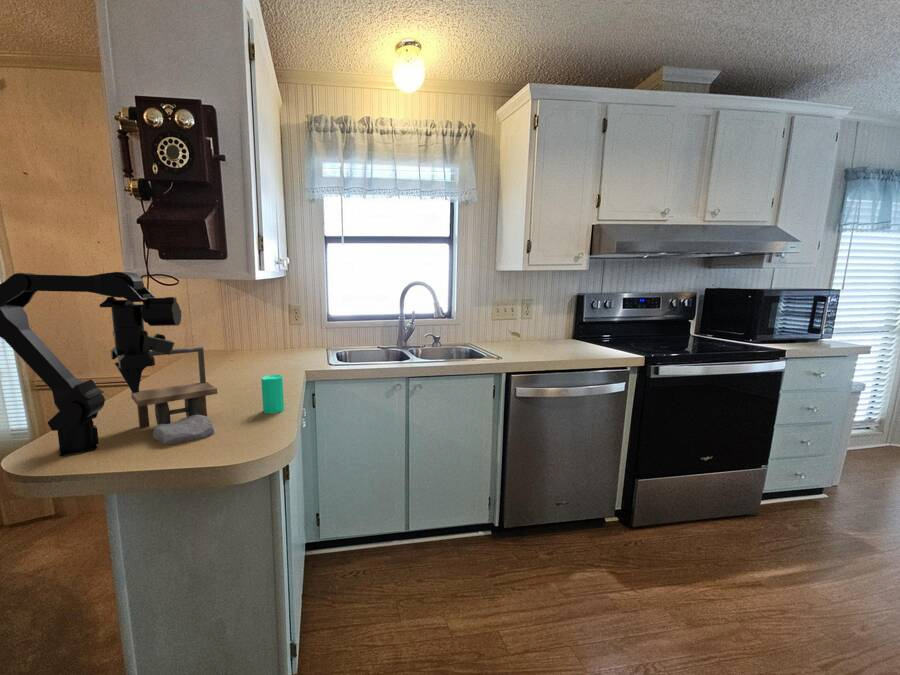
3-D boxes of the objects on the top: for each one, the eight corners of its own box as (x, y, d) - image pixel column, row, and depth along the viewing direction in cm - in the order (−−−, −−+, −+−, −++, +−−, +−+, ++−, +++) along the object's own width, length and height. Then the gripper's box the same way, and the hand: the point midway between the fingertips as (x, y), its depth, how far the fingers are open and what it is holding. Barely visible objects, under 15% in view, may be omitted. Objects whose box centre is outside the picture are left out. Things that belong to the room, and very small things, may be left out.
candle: (274, 406, 134) (272, 369, 133) (288, 409, 132) (286, 370, 130) (258, 411, 129) (256, 372, 127) (272, 414, 126) (270, 374, 125)
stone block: (219, 440, 111) (201, 425, 117) (218, 424, 110) (201, 409, 115) (167, 456, 102) (151, 439, 107) (166, 439, 100) (150, 422, 106)
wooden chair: (141, 437, 107) (133, 358, 105) (134, 426, 115) (127, 352, 113) (219, 421, 120) (214, 350, 117) (208, 412, 128) (203, 345, 125)
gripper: (178, 327, 98) (183, 393, 100) (161, 321, 111) (166, 380, 113) (117, 331, 90) (124, 402, 92) (107, 324, 104) (113, 387, 106)
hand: (135, 392), depth 101 cm, fingers closed
